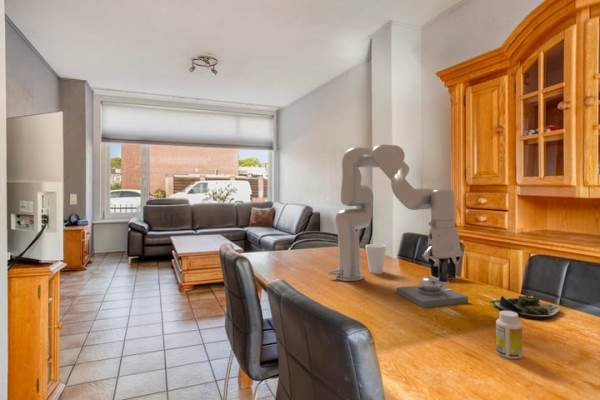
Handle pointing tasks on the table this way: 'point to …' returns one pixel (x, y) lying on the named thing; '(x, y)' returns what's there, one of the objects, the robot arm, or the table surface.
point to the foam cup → (375, 257)
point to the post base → (431, 296)
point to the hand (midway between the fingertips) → (443, 275)
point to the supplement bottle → (509, 335)
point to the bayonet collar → (434, 283)
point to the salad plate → (527, 307)
